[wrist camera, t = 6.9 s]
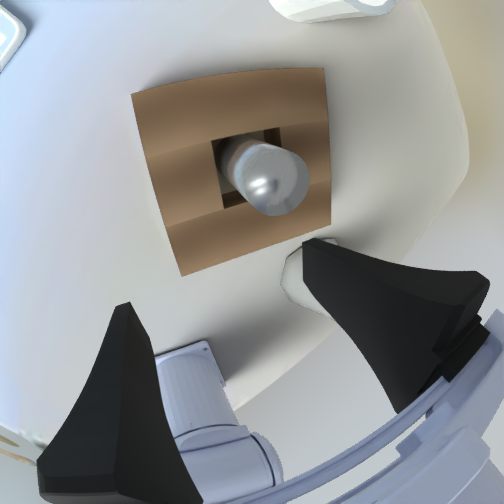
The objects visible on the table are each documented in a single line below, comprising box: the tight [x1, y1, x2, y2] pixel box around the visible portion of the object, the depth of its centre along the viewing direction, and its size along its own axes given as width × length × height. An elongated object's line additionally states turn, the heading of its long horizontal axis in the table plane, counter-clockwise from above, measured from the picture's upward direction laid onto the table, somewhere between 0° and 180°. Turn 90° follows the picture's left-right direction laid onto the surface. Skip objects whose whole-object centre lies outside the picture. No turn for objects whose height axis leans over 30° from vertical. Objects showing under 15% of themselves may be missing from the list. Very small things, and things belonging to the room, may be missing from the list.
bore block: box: [131, 68, 331, 277], centre depth 18 cm, size 12×12×3 cm
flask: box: [281, 239, 338, 320], centre depth 23 cm, size 7×7×10 cm
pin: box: [214, 134, 310, 216], centre depth 15 cm, size 3×3×7 cm
